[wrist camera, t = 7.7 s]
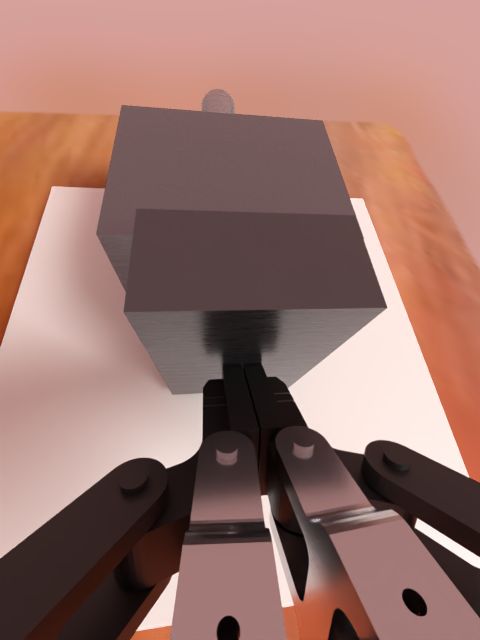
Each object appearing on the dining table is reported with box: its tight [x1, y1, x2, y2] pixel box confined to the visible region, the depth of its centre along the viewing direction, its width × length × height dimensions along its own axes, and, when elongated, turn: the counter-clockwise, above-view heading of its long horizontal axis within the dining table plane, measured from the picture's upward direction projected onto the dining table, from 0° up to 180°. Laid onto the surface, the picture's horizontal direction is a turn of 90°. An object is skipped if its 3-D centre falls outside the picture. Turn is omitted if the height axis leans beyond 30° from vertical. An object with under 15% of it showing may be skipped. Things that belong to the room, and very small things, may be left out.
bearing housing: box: [96, 105, 364, 292], centre depth 15 cm, size 10×8×7 cm
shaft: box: [124, 89, 387, 395], centre depth 14 cm, size 6×20×9 cm, turn 4°
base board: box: [0, 186, 480, 631], centre depth 17 cm, size 24×24×2 cm
